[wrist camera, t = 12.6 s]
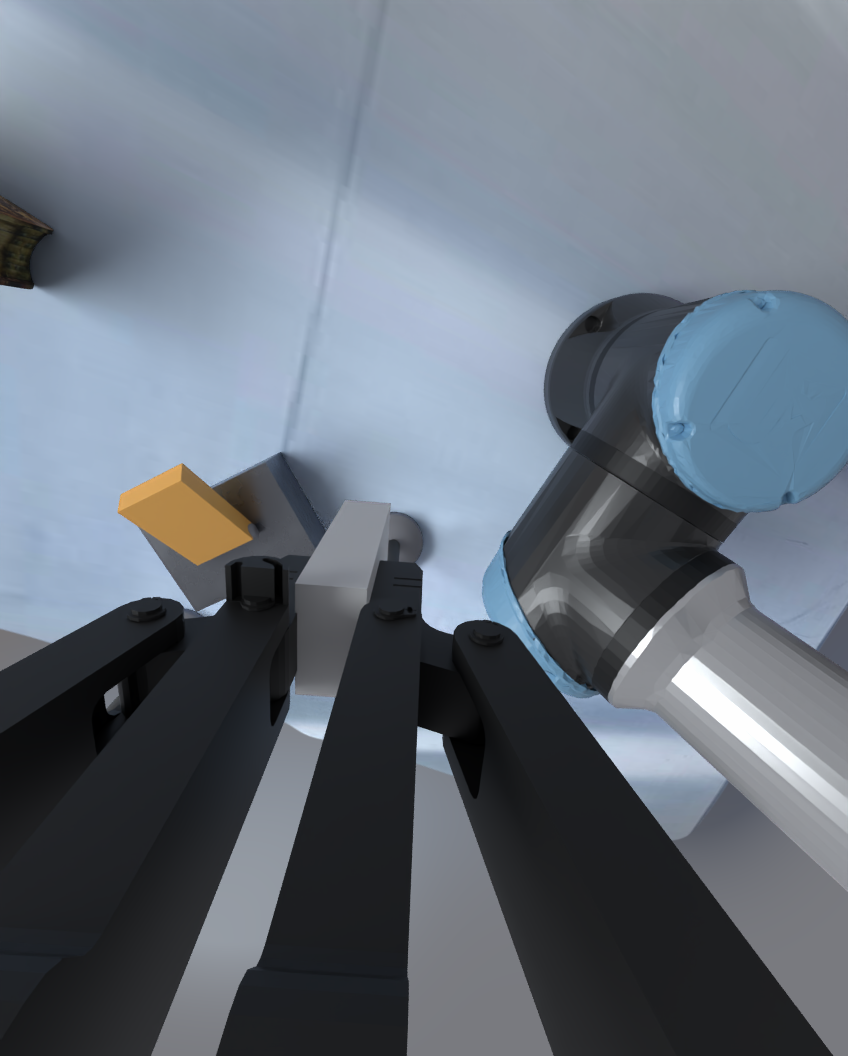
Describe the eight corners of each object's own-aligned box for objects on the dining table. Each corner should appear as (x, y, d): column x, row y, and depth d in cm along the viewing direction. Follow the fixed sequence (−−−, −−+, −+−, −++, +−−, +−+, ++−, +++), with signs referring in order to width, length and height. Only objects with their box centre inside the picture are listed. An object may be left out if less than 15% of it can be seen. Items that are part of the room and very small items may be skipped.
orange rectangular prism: (259, 542, 47) (182, 479, 40) (200, 570, 48) (115, 513, 41) (258, 526, 48) (184, 462, 41) (201, 553, 49) (118, 495, 42)
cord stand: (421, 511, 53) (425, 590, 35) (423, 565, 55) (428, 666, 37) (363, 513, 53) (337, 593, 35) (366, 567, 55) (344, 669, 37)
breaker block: (332, 544, 54) (323, 562, 49) (220, 596, 56) (200, 618, 51) (280, 452, 51) (265, 461, 46) (163, 510, 53) (137, 525, 48)
